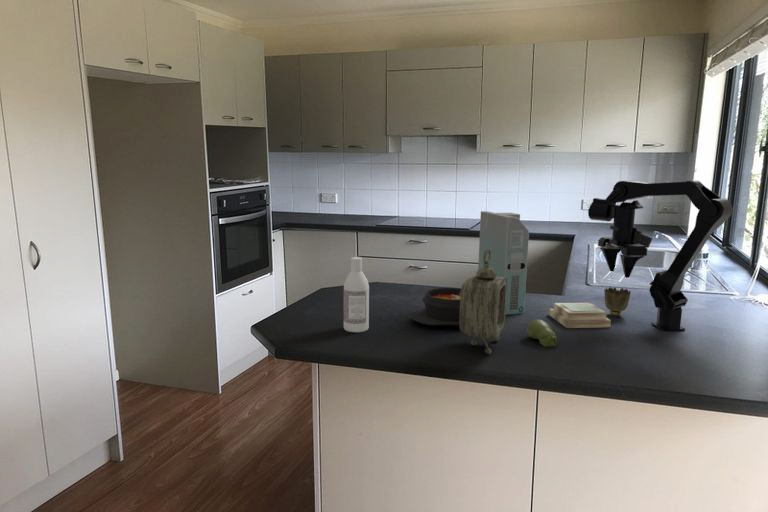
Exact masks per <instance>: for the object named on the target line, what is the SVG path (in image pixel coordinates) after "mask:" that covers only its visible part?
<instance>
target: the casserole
mask: <svg viewBox="0 0 768 512" xmlns="http://www.w3.org/2000/svg"><path fill="white" fill-rule="evenodd" d="M460 296H461V288H459V287H439V288H438V287H437V288H433V289H429V290H427V291H426V293H425V295H424V297H422V299H421V300H422V302H423V303H424V309H422V310H419V311H416V312H415V311H414V312H413V313H410V315H409V317H410V318H411V320H412V321H415V322H417V323H420V324H423V325H426V326H443V327H453V328H454V327H459V319H460Z"/></svg>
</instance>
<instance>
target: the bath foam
mask: <svg viewBox="0 0 768 512" xmlns="http://www.w3.org/2000/svg"><path fill="white" fill-rule="evenodd" d="M350 264H351V266H350V272H349V273H348V275H347V277H346V279H345V280H344V283H343V284H344V285H343V329H344V330H345V331H346V332H349V333H363V332H366V331H368V330H369V327H370V285H369V281H368V279H367V277H366V276H365V274H364V272H363V258H362V257H360V256H359V257H358V256H357V257H356V256H354V257H351V258H350Z"/></svg>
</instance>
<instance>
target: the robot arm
mask: <svg viewBox="0 0 768 512" xmlns="http://www.w3.org/2000/svg"><path fill="white" fill-rule="evenodd" d="M684 195H685V196H686V197H687V198H688V199H689V200H690V202H691V203H692V204H693V206H694V207H695V208H696V209H698V212H697V215H696V217H695V222H694V223H695V225H694V227H693V230H692V231H691V233H690V234H689V236H688V237H687V238H686V241H685V242H684V243H683V245H682V246H681V248H680V250H679V251H678V253H677V255H676V256H675V258H674V259H673V261H672V262H671V264H670V266H669V267H668V269H667V270H661V271H659V272H658V271H657V272H656V274H655V275H654V278H653V279H652V281H651V282H650V283H649V285H650V287H649V295H650V296H651V298H652V299H653V303H654V307H655V308H657V313H656V314H657V315H656V322H651V325H653V326H655V327H656V328H658V329H660V330H662V331H666V332H667V331H668V332H670V331H672V332H673V331H686V328H685V327H683V326H681V323H682V315H683V314H682V313H683V309H682V307H685V306H686V304H687V303H688V301H689V300H688V298H687V297H686V295H685V294H684V293H683V292H682V291H681V290H682V288H683V286H684V280H685V275H686V274H687V272H688V270H689V269H690V268H691V266H692V264H693V263H694V261H695V260H696V259H697V257H698V255H699V253H700V252H701V251H702V249H703V248H704V246H705V244H706V243H707V241H708V240H709V239H710V237H711V236H712V234H713V233H714V232H715V231H716V230H718V229H719V228H720V227H721V226H722V225H723V224H725V222H726V221H728V219H729V218H730V217H731V216H732V215H733V212H734V209H733V204H732V203H731V202H730V200H728V199H725V198H721V196H719V195H718V194H717V193H715V192H714V191H713V190H711V189H709V188H708V187H706V186H705V185H704V184H703V183H702V182H701V181H699V180H697V179H695V180H693V179H692V180H691V179H690V180H687V181H670V182H654V183H653V182H645V181H638V180H620V181H617V182H616V183H615V184H614V186H613V188H612V191H611V192H610V193H609V194H608V196H607V197H606V198H600V197H594V198H593V199H592V202H591V203H590V205H589V207H588V211H587V214H588V218H589V219H590V220H592V221H598V222H599V221H602V222H611V221H612V220H613V224H612V225H611V224H610V227H609V228H610V230H612V236H611V237H610V236H601V237H600V238H599V239H598V241H597V246H598V247H600V248H599V249H600V250H601V253H602V256H603V257H604V259H605V263H606V264H607V265H606V266H607V267H608V269H609V272H614V271H615V269H616V263H617V258H618V254H619V253H620V252H621V254H619V255H620V261H621V265H622V271H623V274H624V278H626V279H627V278H630V276H631V274H632V272H633V270H634V267H636V266H635V265H636V264H637V262H638V261H639V260H641V259H644V258H645V257H646V256H648V249H649V248H650V245H651V243H652V241H653V238H652V237H650V236H647V235H645V234H643V233H642V231H641V230H638V228H637V226H635V217H636V210H640V209H643V208H644V206H643V205H642V204H641V203H640V201H639V200H636V199H642V198H645V197H654V196H657V197H658V196H684ZM632 200H633V201H632ZM627 201H629V202H627ZM630 201H632V202H630ZM617 203H620V204H617Z"/></svg>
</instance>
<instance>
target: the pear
mask: <svg viewBox="0 0 768 512" xmlns="http://www.w3.org/2000/svg"><path fill="white" fill-rule="evenodd" d="M526 331H527V333H528V336H529V337H530V338H532V340H533V339H534V340H539V344H540V345H541V346H543V347H544V348H546V347H555V346H557V343H558V338H557V335H556V333H555V332H554V331H553V329H552V327H551V326H550V324H549V323H547V322H546V321H545V320H542V319H540V318H539V319H533V320H531V321H530V322H529V323H528V324H527V328H526Z"/></svg>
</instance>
